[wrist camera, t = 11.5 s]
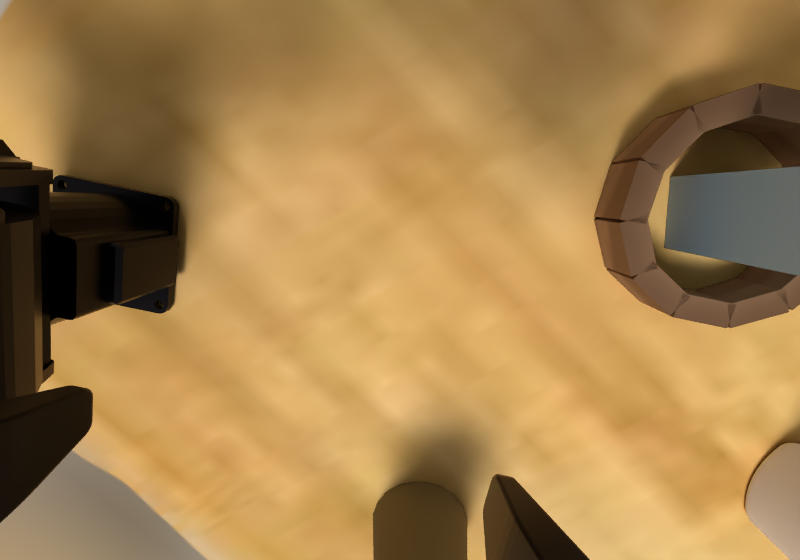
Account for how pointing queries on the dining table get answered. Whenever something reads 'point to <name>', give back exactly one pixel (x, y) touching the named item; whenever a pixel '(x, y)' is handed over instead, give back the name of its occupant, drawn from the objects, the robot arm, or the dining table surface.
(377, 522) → the cork
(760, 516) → the eye dropper bottle
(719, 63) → the dining table surface
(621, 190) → the bead ring
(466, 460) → the dining table surface
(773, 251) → the blue-gray square peg
